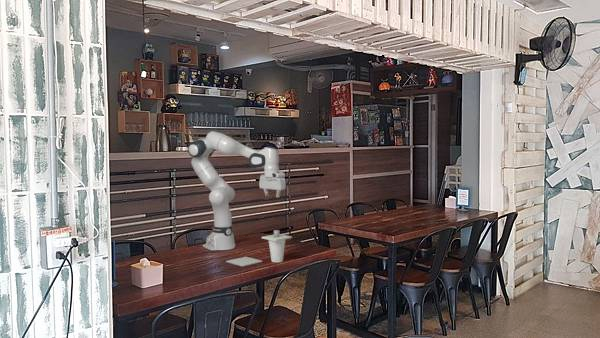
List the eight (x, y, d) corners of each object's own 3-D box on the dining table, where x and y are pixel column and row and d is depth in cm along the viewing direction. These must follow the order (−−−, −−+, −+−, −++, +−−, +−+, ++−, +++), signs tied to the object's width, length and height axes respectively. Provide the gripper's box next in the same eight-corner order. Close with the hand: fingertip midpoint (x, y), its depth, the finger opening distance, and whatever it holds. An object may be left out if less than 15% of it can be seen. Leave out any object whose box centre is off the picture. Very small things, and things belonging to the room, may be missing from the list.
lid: (261, 238, 277) (261, 230, 276) (277, 235, 285) (277, 227, 285) (276, 241, 268) (275, 233, 268) (291, 237, 277) (291, 230, 276)
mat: (226, 261, 277) (226, 260, 277) (245, 257, 286) (245, 256, 286) (242, 266, 266) (242, 265, 266) (262, 261, 276) (262, 260, 276)
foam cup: (283, 263, 272) (282, 240, 271) (266, 262, 274) (266, 239, 273) (287, 259, 281) (286, 236, 280) (271, 258, 283) (271, 236, 282)
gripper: (256, 173, 299) (257, 196, 300) (279, 174, 284) (279, 198, 285) (264, 172, 303) (264, 195, 304) (287, 174, 289) (287, 197, 289)
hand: (272, 196), depth 294 cm, fingers open, 8 cm apart
